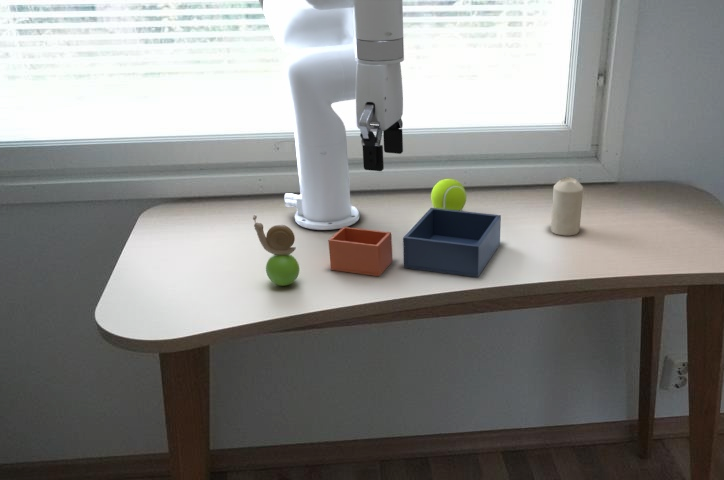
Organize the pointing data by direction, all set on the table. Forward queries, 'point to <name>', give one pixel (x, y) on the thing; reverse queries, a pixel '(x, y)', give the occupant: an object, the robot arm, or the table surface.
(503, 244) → the table surface
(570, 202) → the candle
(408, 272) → the table surface
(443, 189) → the tennis ball
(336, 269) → the small tote
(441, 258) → the big tote
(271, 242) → the snail figurine
